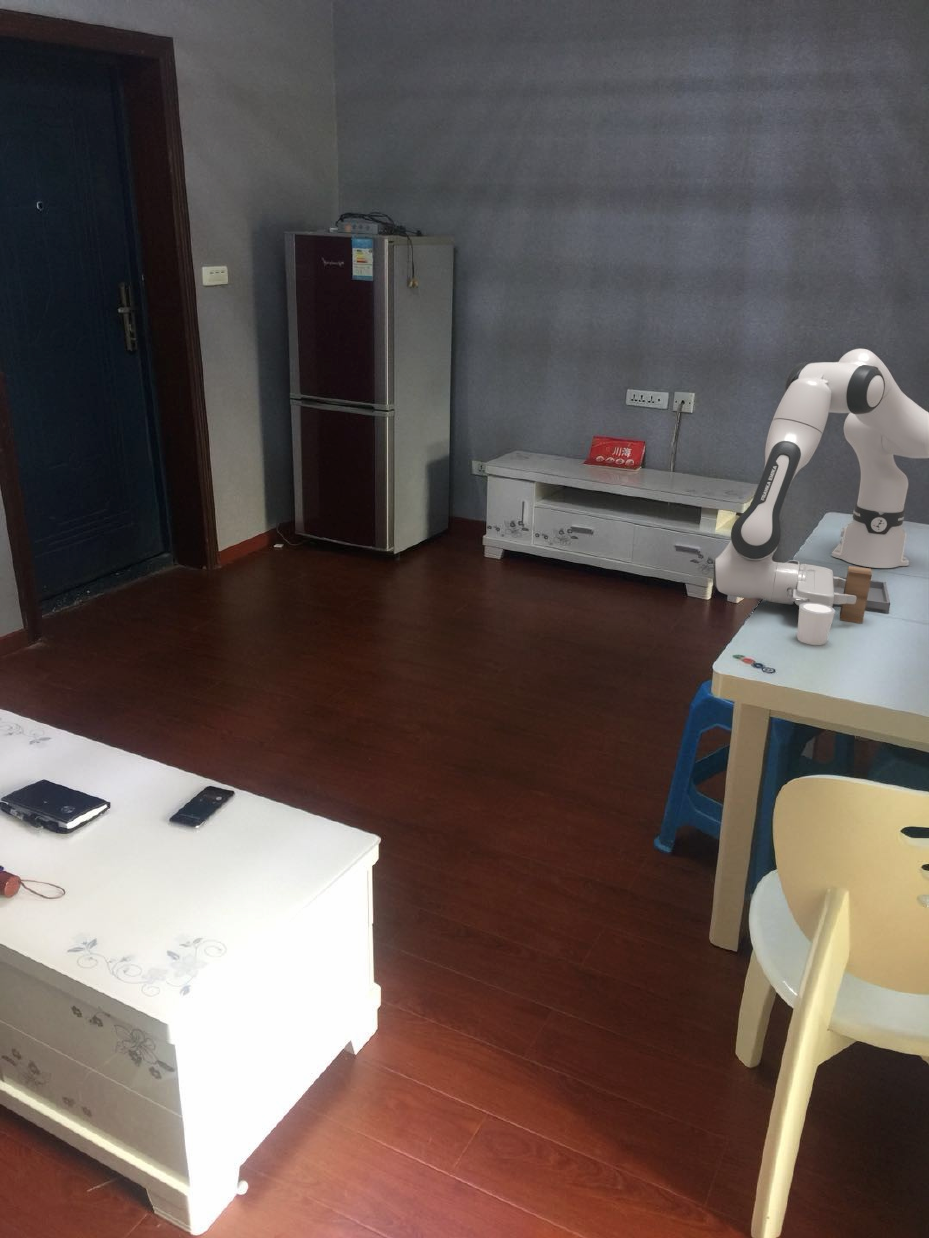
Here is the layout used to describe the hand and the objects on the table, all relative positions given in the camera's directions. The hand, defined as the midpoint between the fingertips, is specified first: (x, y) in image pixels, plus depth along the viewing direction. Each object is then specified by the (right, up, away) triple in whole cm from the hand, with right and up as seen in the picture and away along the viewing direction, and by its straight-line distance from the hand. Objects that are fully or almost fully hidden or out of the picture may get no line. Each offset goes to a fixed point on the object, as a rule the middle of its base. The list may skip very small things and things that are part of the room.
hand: (855, 592), depth 207 cm
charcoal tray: (+6, -1, +15) cm, 16 cm away
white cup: (-13, -10, -11) cm, 20 cm away
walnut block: (0, -6, +2) cm, 6 cm away
